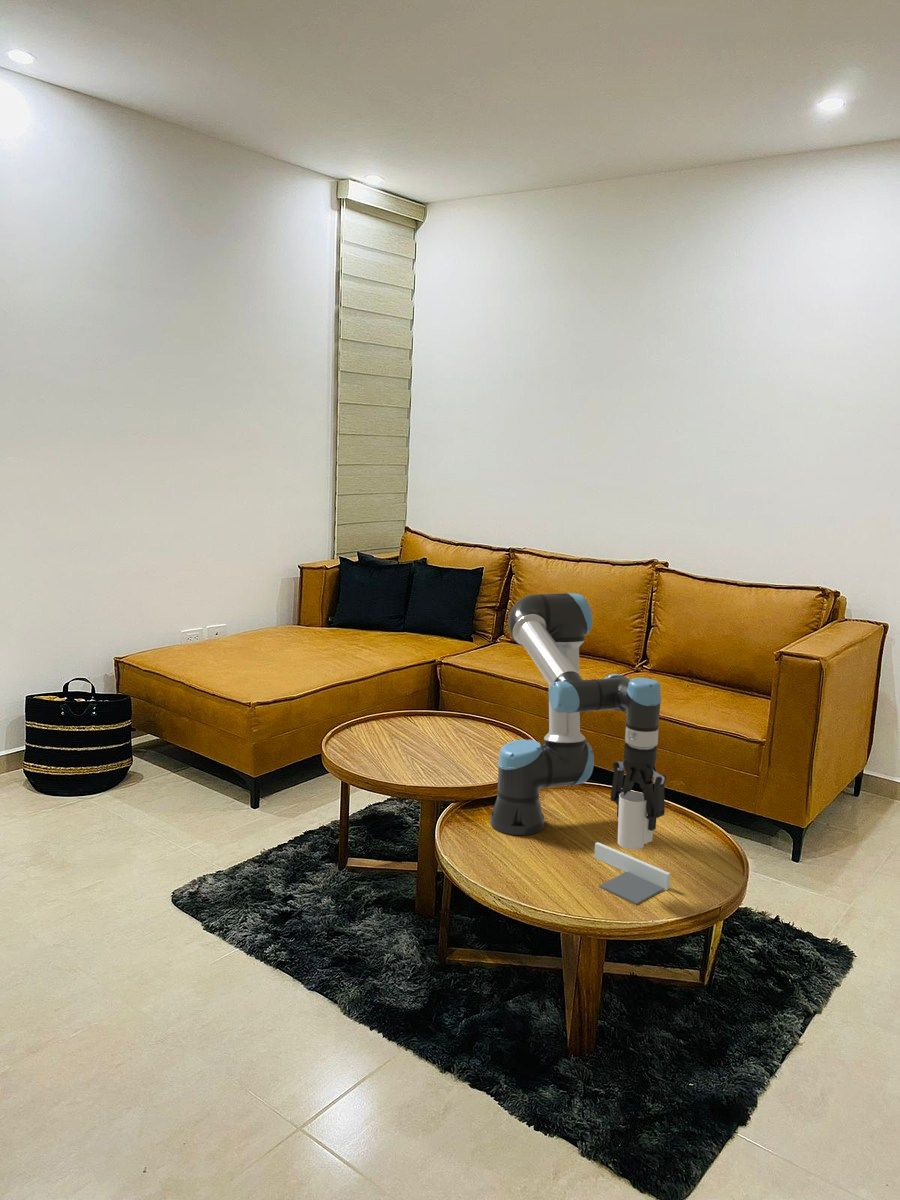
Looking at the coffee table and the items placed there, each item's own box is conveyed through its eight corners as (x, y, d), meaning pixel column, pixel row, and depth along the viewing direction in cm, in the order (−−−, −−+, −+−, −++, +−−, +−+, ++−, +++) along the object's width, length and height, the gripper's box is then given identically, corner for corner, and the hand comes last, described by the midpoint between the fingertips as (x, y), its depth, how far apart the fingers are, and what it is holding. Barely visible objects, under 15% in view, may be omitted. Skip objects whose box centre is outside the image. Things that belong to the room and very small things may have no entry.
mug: (635, 853, 208) (638, 804, 206) (610, 844, 213) (613, 796, 210) (657, 840, 215) (660, 792, 213) (633, 831, 220) (636, 785, 218)
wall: (594, 857, 232) (595, 843, 231) (597, 856, 232) (597, 842, 232) (666, 890, 216) (667, 874, 215) (669, 888, 216) (670, 873, 216)
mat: (599, 887, 216) (599, 885, 216) (626, 873, 224) (626, 871, 224) (636, 904, 208) (636, 903, 208) (663, 889, 216) (663, 888, 216)
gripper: (598, 737, 214) (593, 827, 218) (667, 759, 200) (660, 855, 204) (617, 730, 219) (611, 819, 223) (685, 752, 205) (678, 846, 209)
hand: (635, 836), depth 214 cm, fingers closed on mug, 6 cm apart
